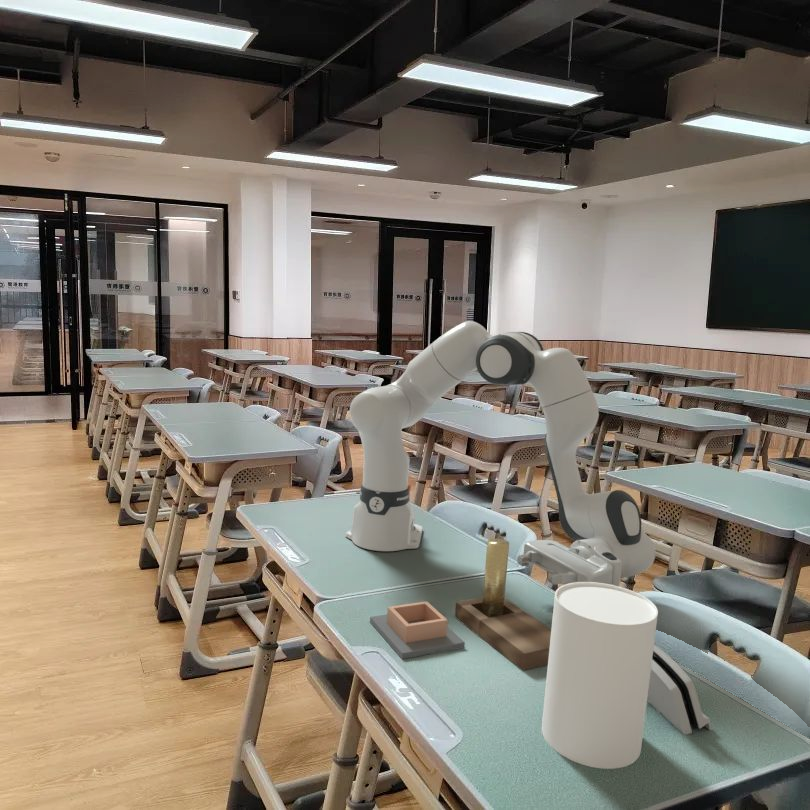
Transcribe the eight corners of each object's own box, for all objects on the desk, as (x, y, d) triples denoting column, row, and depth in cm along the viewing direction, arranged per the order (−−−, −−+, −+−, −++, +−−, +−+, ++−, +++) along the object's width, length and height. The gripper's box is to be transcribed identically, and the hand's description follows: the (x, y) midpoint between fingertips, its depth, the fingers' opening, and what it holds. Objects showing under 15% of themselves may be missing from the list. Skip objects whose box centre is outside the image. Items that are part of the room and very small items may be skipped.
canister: (621, 710, 103) (636, 584, 101) (656, 770, 90) (674, 627, 87) (532, 706, 103) (544, 579, 100) (554, 766, 90) (569, 622, 87)
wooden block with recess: (454, 616, 131) (455, 601, 131) (497, 608, 136) (498, 594, 136) (522, 670, 113) (524, 653, 113) (569, 659, 118) (571, 642, 117)
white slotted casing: (714, 731, 100) (703, 672, 97) (687, 745, 99) (675, 686, 96) (644, 671, 116) (633, 619, 113) (620, 682, 114) (608, 630, 112)
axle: (482, 617, 132) (489, 537, 129) (503, 621, 131) (510, 540, 128) (478, 626, 128) (485, 543, 126) (500, 630, 127) (507, 547, 125)
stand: (369, 622, 127) (371, 601, 126) (427, 613, 132) (429, 593, 131) (401, 658, 114) (403, 636, 114) (464, 647, 119) (466, 626, 119)
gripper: (555, 529, 148) (503, 536, 141) (627, 564, 130) (572, 573, 123) (553, 557, 149) (501, 565, 142) (623, 595, 131) (568, 606, 124)
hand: (534, 569), depth 133 cm, fingers open, 8 cm apart
